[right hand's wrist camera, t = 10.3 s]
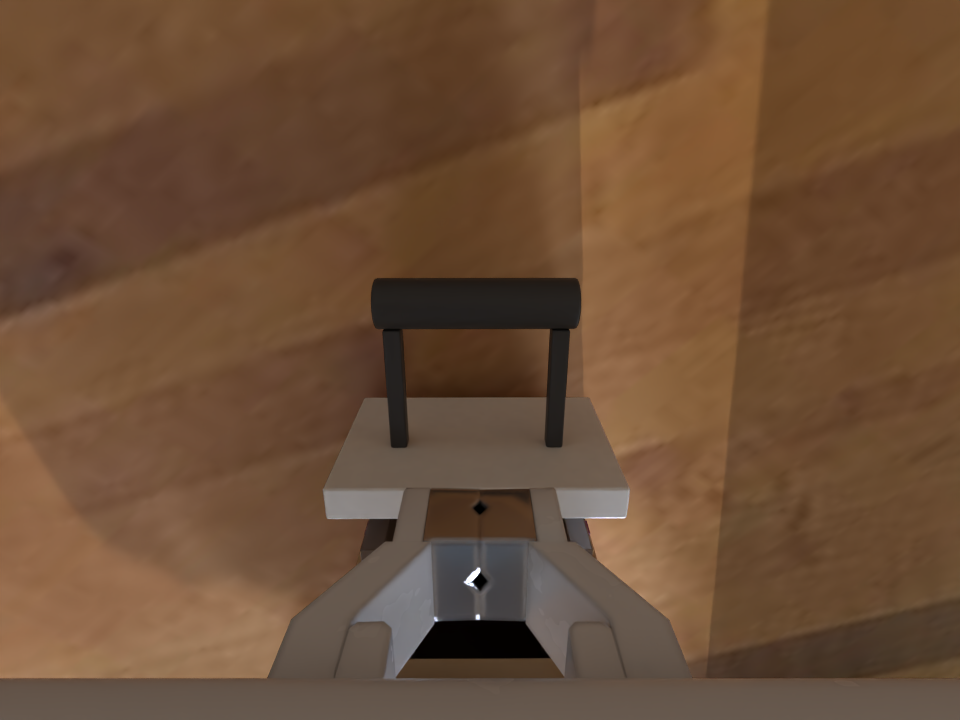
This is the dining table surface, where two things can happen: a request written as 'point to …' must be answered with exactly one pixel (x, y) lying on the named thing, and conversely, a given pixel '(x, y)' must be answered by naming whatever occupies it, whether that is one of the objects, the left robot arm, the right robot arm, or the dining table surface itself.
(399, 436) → the drawer
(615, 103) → the dining table surface
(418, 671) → the cabinet
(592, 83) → the dining table surface
